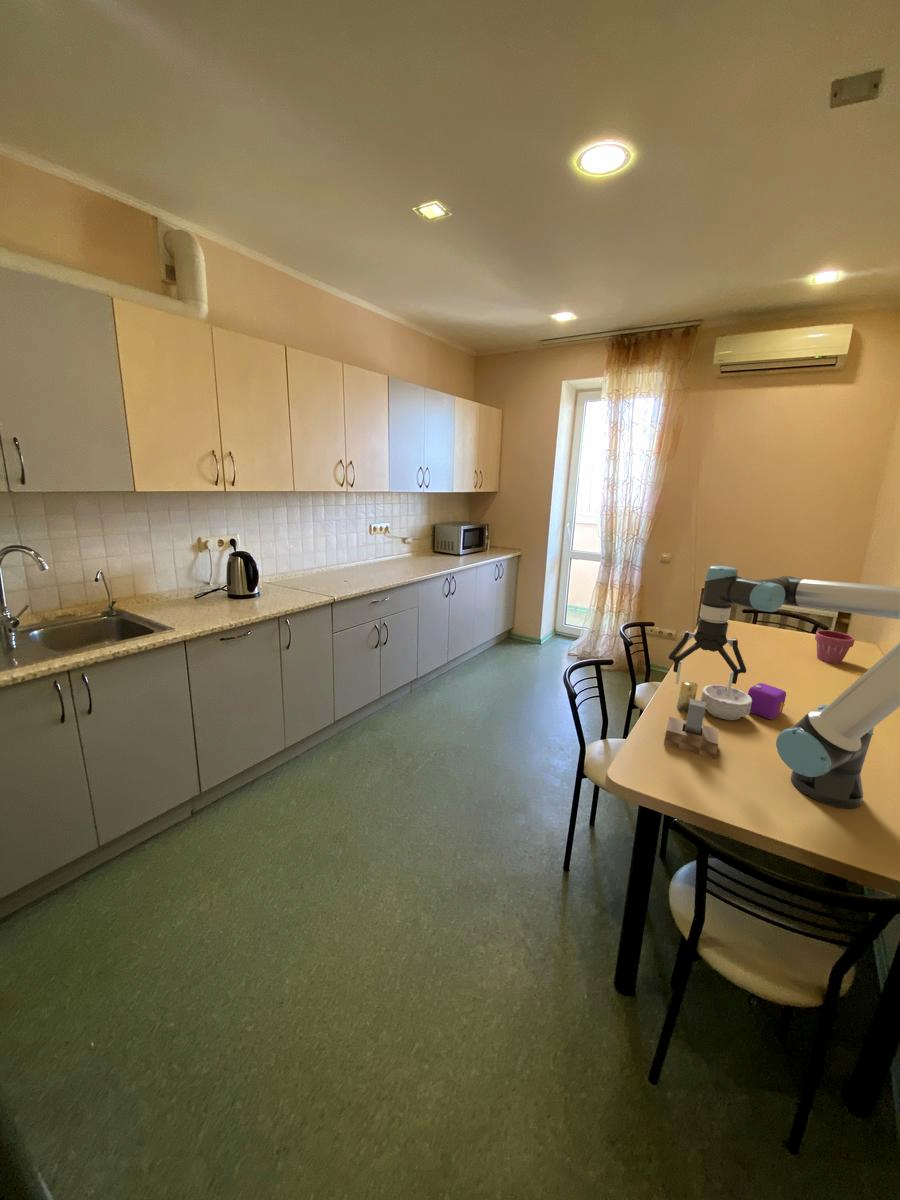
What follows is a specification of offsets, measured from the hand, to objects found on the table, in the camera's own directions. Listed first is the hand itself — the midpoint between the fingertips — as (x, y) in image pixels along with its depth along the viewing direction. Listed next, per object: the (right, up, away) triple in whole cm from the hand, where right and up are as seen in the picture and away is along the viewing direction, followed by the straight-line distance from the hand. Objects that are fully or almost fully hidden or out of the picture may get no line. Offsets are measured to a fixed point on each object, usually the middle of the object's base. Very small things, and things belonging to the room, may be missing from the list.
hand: (702, 687), depth 141 cm
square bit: (-1, -18, +5) cm, 19 cm away
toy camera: (+38, -14, +29) cm, 50 cm away
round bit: (+9, -13, +28) cm, 32 cm away
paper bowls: (+21, -14, +26) cm, 36 cm away
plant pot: (+105, -3, +83) cm, 134 cm away
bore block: (-1, -18, +5) cm, 19 cm away
